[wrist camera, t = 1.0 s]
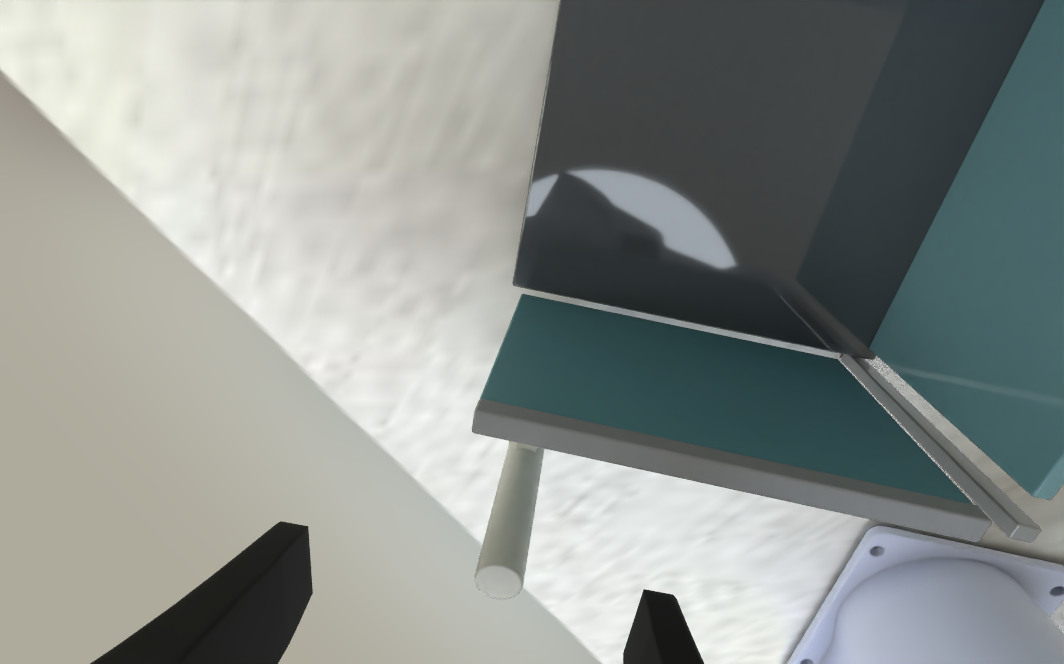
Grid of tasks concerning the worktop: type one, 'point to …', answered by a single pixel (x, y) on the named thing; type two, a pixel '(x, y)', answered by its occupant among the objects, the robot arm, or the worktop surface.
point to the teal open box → (828, 197)
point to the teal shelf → (694, 425)
